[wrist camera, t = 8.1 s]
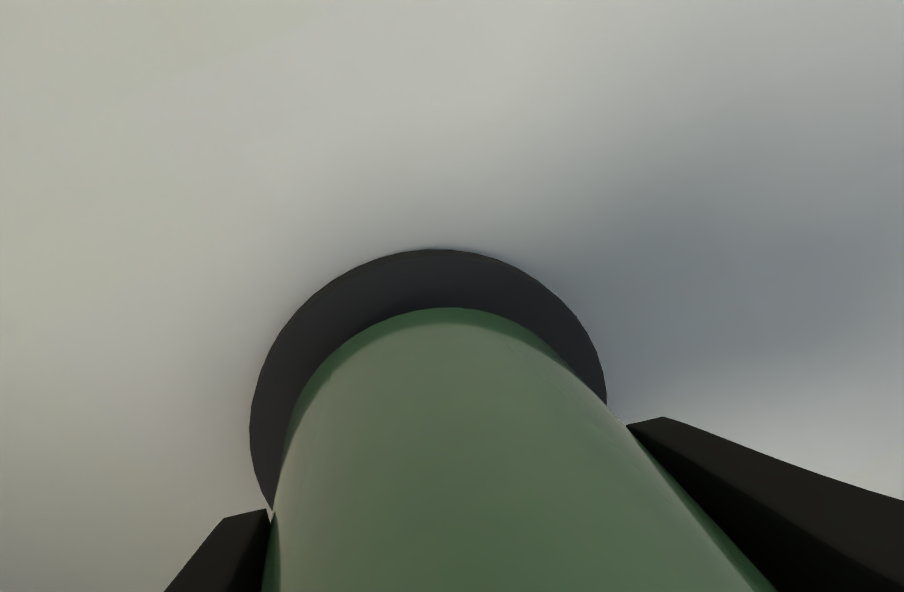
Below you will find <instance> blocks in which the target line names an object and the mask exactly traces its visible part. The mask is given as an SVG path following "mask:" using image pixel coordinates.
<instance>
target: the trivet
mask: <svg viewBox="0 0 904 592" xmlns="http://www.w3.org/2000/svg"><path fill="white" fill-rule="evenodd" d="M432 308H466V309H474V310H481V311H485V312H488V313H492V314H496V315H500V316H502V317H505V318H507V319H509V320H512V321H514V322H517V323H519V324H520V325H522V326H524V327H526V328H527V329H529V330H531V331H532V332H534V333H535V334H537V335H538V336H539V337H540V338H542V339H543V340H544V341H546V342H547V343H548V344H549V345H550V346H551V347H552V348H553V349H554V350H555V351H556V352H557V353H558V354H559V355H560V356H561V357H562V359H563V360H564V361H565V362H566V363H567V364H568V365H569V366H570V367H571V368H572V369H573V370H574V371H575V372H576V374H577V375H578V376H579V377H580V378H581V379H582V380H583V381H584V382H585V383H586V384H587V385H588V386H589V388H590V389H591V390H592V391H593V392H594V393H595V394H596V395H597V396H598V397H599V398H600V399H601V400H602V402H603V403H604V404H605V405H606V406H607V397H606V387H605V381H604V375H603V371H602V368H601V365H600V361H599V358H598V355H597V352H596V350H595V348H594V346H593V344H592V342H591V340H590V338H589V336H588V334H587V332H586V331H585V329H584V328H583V326H582V325H581V323H580V322H579V320H578V319H577V317H576V316H575V315H574V314H573V313H572V311H571V310H570V309H569V308H568V307H567V306H566V305H565V304H564V303H563V302H562V301H561V299H559V298H558V297H557V296H556V295H554V294H553V293H552V292H551V291H550V290H548V289H547V288H546V287H545V286H543V285H542V284H541V283H540V282H539V281H537V280H536V279H534V278H533V277H531V276H529V275H528V274H526V273H525V272H523V271H521V270H520V269H518V268H516V267H514V266H511V265H509V264H507V263H504V262H502V261H500V260H497V259H494V258H490V257H487V256H483V255H480V254H476V253H471V252H463V251H456V250H419V251H411V252H403V253H399V254H395V255H391V256H387V257H383V258H379V259H376V260H374V261H371V262H369V263H366V264H364V265H361V266H359V267H356V268H354V269H353V270H351V271H349V272H347V273H345V274H344V275H342V276H340V277H338V278H336V279H335V280H333V281H332V282H330V283H329V284H328V285H326V286H325V287H323V288H322V289H321V290H319V291H318V292H317V293H315V294H314V295H313V296H312V297H311V298H310V299H309V300H308V301H307V302H306V303H305V304H304V305H303V306H302V307H300V308H299V309H298V310H297V311H296V313H295V314H294V315H293V316H292V318H291V319H290V320H289V321H288V323H287V324H286V325H285V326H284V328H283V329H282V330H281V332H280V333H279V335H278V337H277V339H276V340H275V342H274V344H273V345H272V347H271V349H270V350H269V353H268V355H267V357H266V360H265V362H264V365H263V367H262V369H261V372H260V375H259V378H258V382H257V386H256V390H255V394H254V398H253V401H252V406H251V416H250V425H249V432H250V451H251V456H252V461H253V466H254V471H255V474H256V477H257V480H258V483H259V485H260V488H261V491H262V493H263V495H264V497H265V499H266V501H267V503H268V504H269V506H270V508H271V510H272V512H273V506H274V500H275V494H276V488H277V481H278V475H279V469H280V463H281V456H282V450H283V444H284V438H285V433H286V429H287V425H288V422H289V418H290V415H291V413H292V410H293V408H294V406H295V403H296V401H297V399H298V396H299V395H300V393H301V392H302V390H303V388H304V387H305V385H306V383H307V382H308V380H309V379H310V377H311V376H312V375H313V374H314V372H315V371H316V370H317V369H318V367H319V366H320V365H321V364H322V363H323V362H324V361H325V360H326V359H327V358H328V357H329V356H330V355H331V354H332V353H333V352H334V351H335V350H336V349H337V348H338V347H340V346H341V345H342V344H344V343H345V342H347V341H348V340H349V339H351V338H352V337H353V336H355V335H356V334H358V333H360V332H362V331H364V330H365V329H367V328H369V327H371V326H372V325H374V324H377V323H379V322H382V321H384V320H387V319H389V318H392V317H394V316H398V315H401V314H405V313H409V312H413V311H417V310H424V309H432Z"/></svg>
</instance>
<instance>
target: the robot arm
mask: <svg viewBox="0 0 904 592" xmlns="http://www.w3.org/2000/svg"><path fill="white" fill-rule="evenodd" d="M626 427H627V428H628V429H629V431H630V432H631V433H632V434H633V435H634V436H635V437H636V438H637V439H638V440H639V441H640V442H641V443H642V445H643V446H644V447H645V448H646V449H647V450H648V451H649V452H650V453H651V454H652V455H653V456H654V457H655V458H656V460H657V461H658V462H659V463H660V464H661V465H662V466H663V467H664V468H665V469H666V470H667V471H668V472H669V474H670V475H671V476H672V477H673V478H674V479H675V480H676V481H677V482H678V483H679V484H680V485H681V486H682V488H683V489H684V490H685V491H686V492H687V493H688V494H689V495H690V496H691V497H692V498H693V499H694V500H695V501H696V503H697V504H698V505H699V506H700V507H701V508H702V509H703V510H704V511H705V512H706V513H707V514H708V515H709V517H710V518H711V519H712V520H713V521H714V522H715V523H716V524H717V525H718V526H719V527H720V528H721V529H722V531H723V532H724V533H725V534H726V535H727V536H728V537H729V538H730V539H731V540H732V541H733V542H734V543H735V544H736V546H737V547H738V548H739V549H740V550H741V551H742V552H743V553H744V554H745V555H746V556H747V557H748V558H749V560H750V561H751V562H752V563H753V564H754V565H755V566H756V567H757V568H758V569H759V570H760V571H761V572H762V574H763V575H764V576H765V577H766V578H767V579H768V580H769V581H770V582H771V583H772V584H773V585H774V586H775V587H776V589H777V590H778V591H779V592H904V501H903V500H899V499H896V498H892V497H889V496H885V495H882V494H879V493H875V492H872V491H869V490H866V489H863V488H860V487H856V486H853V485H850V484H847V483H844V482H841V481H838V480H835V479H832V478H829V477H826V476H823V475H820V474H817V473H814V472H812V471H809V470H806V469H803V468H800V467H797V466H795V465H792V464H789V463H787V462H784V461H781V460H778V459H776V458H773V457H771V456H768V455H765V454H763V453H760V452H757V451H755V450H752V449H750V448H747V447H745V446H742V445H739V444H737V443H734V442H732V441H729V440H727V439H724V438H722V437H719V436H717V435H714V434H711V433H709V432H706V431H704V430H701V429H698V428H696V427H693V426H690V425H688V424H685V423H682V422H679V421H676V420H673V419H670V418H666V417H659V418H655V419H650V420H646V421H642V422H637V423H633V424H629V425H626ZM269 531H270V521H269V518H268V514H267V510H266V508H265V509H261V510H257V511H252V512H248V513H244V514H239V515H235V516H231V517H226V518H223V519H222V521H221V522H220V523H219V524H218V525H217V526H216V527H215V529H214V530H213V531H212V532H211V534H210V535H209V536H208V537H207V538H206V540H205V541H204V542H203V543H202V545H201V546H200V547H199V549H198V550H197V551H196V552H195V554H194V555H193V556H192V557H191V559H190V560H189V561H188V562H187V564H186V565H185V566H184V567H183V569H182V570H181V571H180V572H179V574H178V575H177V576H176V577H175V579H174V580H173V581H172V582H171V583H170V585H169V586H168V587H167V588H166V590H165V591H164V592H260V587H261V581H262V575H263V569H264V563H265V556H266V550H267V544H268V538H269Z"/></svg>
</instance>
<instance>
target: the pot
mask: <svg viewBox="0 0 904 592" xmlns="http://www.w3.org/2000/svg"><path fill="white" fill-rule="evenodd" d="M260 592H779V591H778V590H777V589H776V587H775V586H774V585H773V584H772V583H771V582H770V581H769V580H768V579H767V578H766V577H765V576H764V575H763V574H762V572H761V571H760V570H759V569H758V568H757V567H756V566H755V565H754V564H753V563H752V562H751V561H750V560H749V558H748V557H747V556H746V555H745V554H744V553H743V552H742V551H741V550H740V549H739V548H738V547H737V546H736V544H735V543H734V542H733V541H732V540H731V539H730V538H729V537H728V536H727V535H726V534H725V533H724V532H723V531H722V529H721V528H720V527H719V526H718V525H717V524H716V523H715V522H714V521H713V520H712V519H711V518H710V517H709V515H708V514H707V513H706V512H705V511H704V510H703V509H702V508H701V507H700V506H699V505H698V504H697V503H696V501H695V500H694V499H693V498H692V497H691V496H690V495H689V494H688V493H687V492H686V491H685V490H684V489H683V488H682V486H681V485H680V484H679V483H678V482H677V481H676V480H675V479H674V478H673V477H672V476H671V475H670V474H669V472H668V471H667V470H666V469H665V468H664V467H663V466H662V465H661V464H660V463H659V462H658V461H657V460H656V458H655V457H654V456H653V455H652V454H651V453H650V452H649V451H648V450H647V449H646V448H645V447H644V446H643V445H642V443H641V442H640V441H639V440H638V439H637V438H636V437H635V436H634V435H633V434H632V433H631V432H630V431H629V429H628V428H627V427H626V426H625V425H624V424H623V423H622V422H621V421H620V420H619V419H618V418H617V417H616V415H615V414H614V413H613V412H612V411H611V410H610V409H609V408H608V407H607V406H606V405H605V404H604V403H603V402H602V400H601V399H600V398H599V397H598V396H597V395H596V394H595V393H594V392H593V391H592V390H591V389H590V388H589V386H588V385H587V384H586V383H585V382H584V381H583V380H582V379H581V378H580V377H579V376H578V375H577V374H576V372H575V371H574V370H573V369H572V368H571V367H570V366H569V365H568V364H567V363H566V362H565V361H564V360H563V359H562V357H561V356H560V355H559V354H558V353H557V352H556V351H555V350H554V349H553V348H552V347H551V346H550V345H549V344H548V343H547V342H546V341H544V340H543V339H542V338H540V337H539V336H538V335H537V334H535V333H534V332H532V331H531V330H529V329H527V328H526V327H524V326H522V325H520V324H519V323H517V322H514V321H512V320H509V319H507V318H505V317H502V316H500V315H496V314H492V313H488V312H485V311H481V310H474V309H466V308H432V309H424V310H417V311H413V312H409V313H405V314H401V315H398V316H394V317H392V318H389V319H387V320H384V321H382V322H379V323H377V324H374V325H372V326H371V327H369V328H367V329H365V330H364V331H362V332H360V333H358V334H356V335H355V336H353V337H352V338H351V339H349V340H348V341H347V342H345V343H344V344H342V345H341V346H340V347H338V348H337V349H336V350H335V351H334V352H333V353H332V354H331V355H330V356H329V357H328V358H327V359H326V360H325V361H324V362H323V363H322V364H321V365H320V366H319V367H318V369H317V370H316V371H315V372H314V374H313V375H312V376H311V377H310V379H309V380H308V382H307V383H306V385H305V387H304V388H303V390H302V392H301V393H300V395H299V396H298V399H297V401H296V403H295V406H294V408H293V410H292V413H291V415H290V418H289V422H288V425H287V429H286V433H285V438H284V444H283V450H282V456H281V463H280V469H279V475H278V481H277V488H276V494H275V500H274V506H273V513H272V519H271V525H270V531H269V538H268V544H267V550H266V556H265V563H264V569H263V575H262V581H261V587H260Z"/></svg>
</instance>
